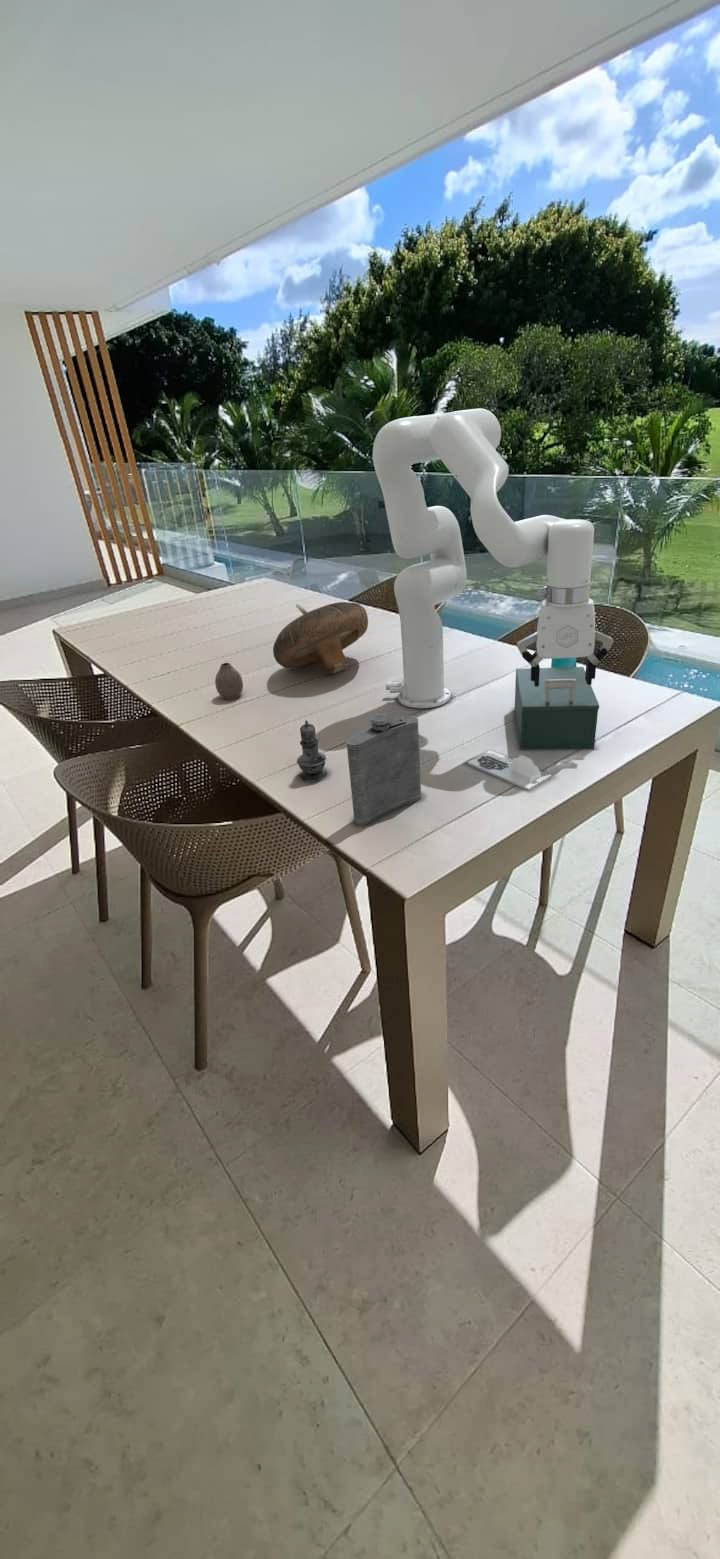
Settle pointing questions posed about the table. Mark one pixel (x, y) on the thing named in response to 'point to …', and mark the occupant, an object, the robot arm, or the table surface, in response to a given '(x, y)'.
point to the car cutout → (511, 769)
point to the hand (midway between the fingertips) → (562, 683)
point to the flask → (384, 767)
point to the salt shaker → (311, 755)
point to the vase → (228, 682)
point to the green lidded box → (555, 727)
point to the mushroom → (321, 636)
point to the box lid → (556, 690)
